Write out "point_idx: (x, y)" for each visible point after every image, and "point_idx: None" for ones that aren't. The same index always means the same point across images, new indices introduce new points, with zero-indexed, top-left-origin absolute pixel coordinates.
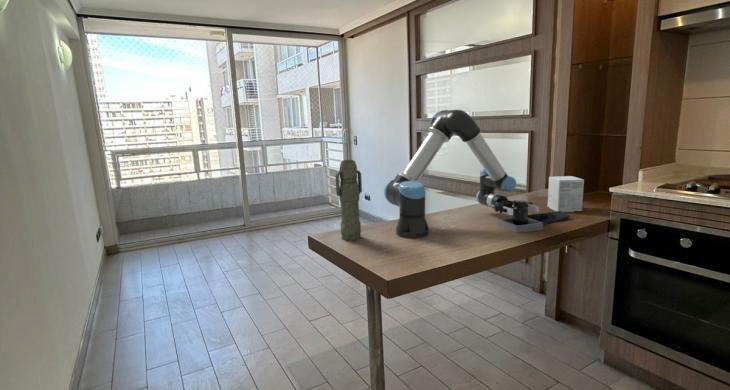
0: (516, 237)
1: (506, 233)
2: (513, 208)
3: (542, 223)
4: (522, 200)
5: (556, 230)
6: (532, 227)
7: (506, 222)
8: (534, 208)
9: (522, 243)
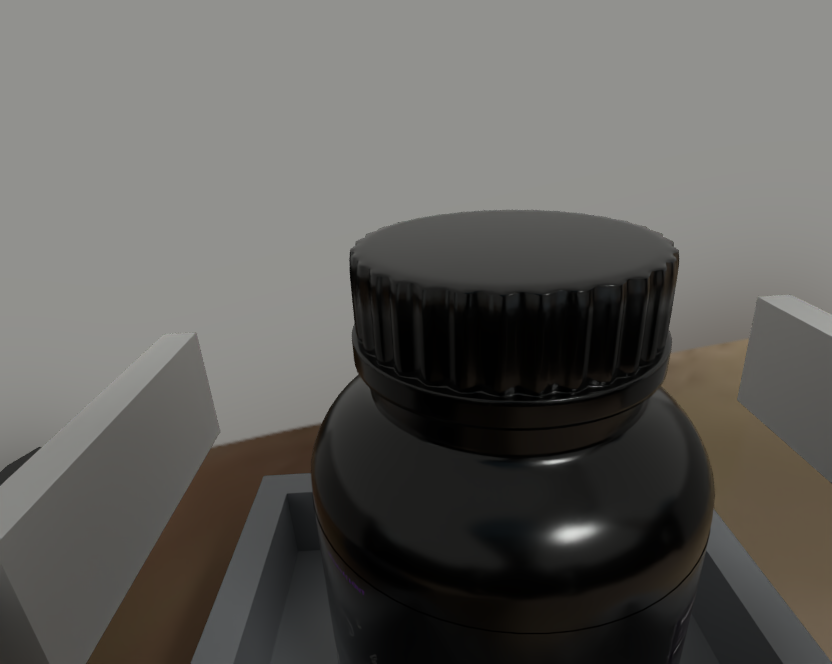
0: None
1: (799, 539)
2: (702, 444)
3: (274, 478)
4: (392, 258)
5: (185, 495)
6: None
7: (828, 661)
8: (180, 417)
9: (677, 356)
